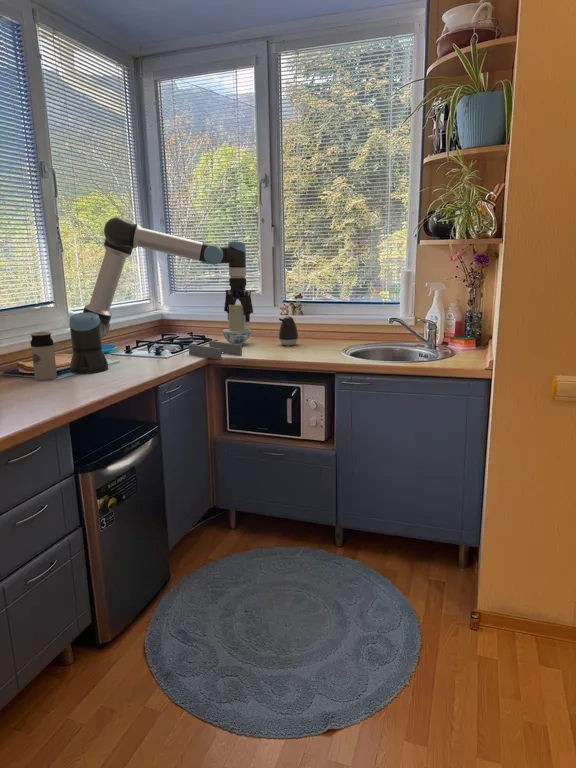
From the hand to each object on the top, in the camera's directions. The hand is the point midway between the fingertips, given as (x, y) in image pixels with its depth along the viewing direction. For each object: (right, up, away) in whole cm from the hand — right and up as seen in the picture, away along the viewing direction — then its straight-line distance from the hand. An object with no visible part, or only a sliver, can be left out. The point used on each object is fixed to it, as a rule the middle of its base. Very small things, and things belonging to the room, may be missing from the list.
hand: (238, 328), depth 243 cm
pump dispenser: (+22, -5, +40) cm, 46 cm away
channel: (-13, -11, +14) cm, 22 cm away
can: (0, -1, +1) cm, 1 cm away
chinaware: (-5, -4, +44) cm, 44 cm away
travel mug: (-73, -23, -31) cm, 83 cm away
